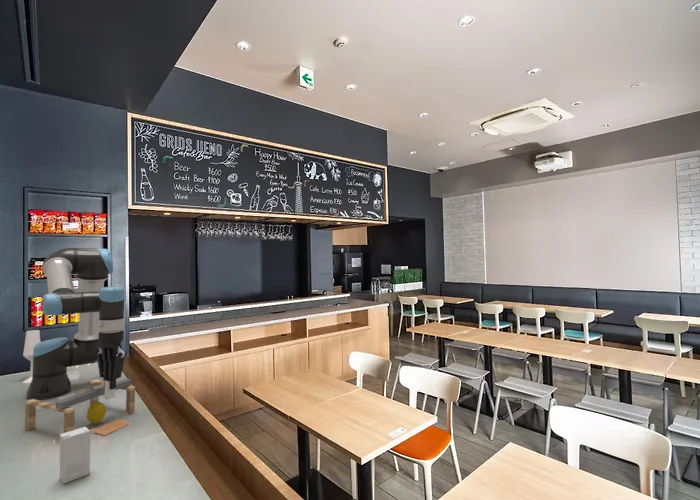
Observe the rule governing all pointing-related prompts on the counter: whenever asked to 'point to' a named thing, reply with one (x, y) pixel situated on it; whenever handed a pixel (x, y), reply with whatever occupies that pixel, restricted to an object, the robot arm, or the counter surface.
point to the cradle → (69, 411)
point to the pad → (111, 427)
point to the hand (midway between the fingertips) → (109, 398)
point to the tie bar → (90, 394)
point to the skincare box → (74, 454)
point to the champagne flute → (30, 349)
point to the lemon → (96, 412)
